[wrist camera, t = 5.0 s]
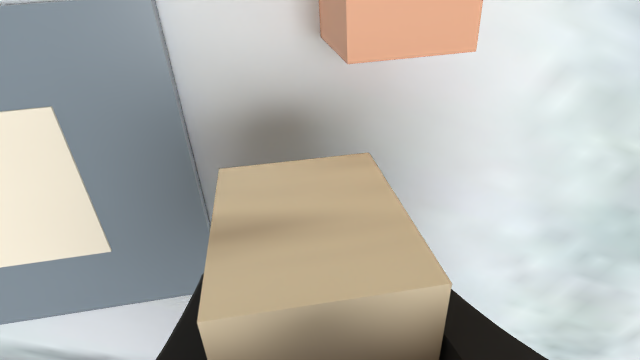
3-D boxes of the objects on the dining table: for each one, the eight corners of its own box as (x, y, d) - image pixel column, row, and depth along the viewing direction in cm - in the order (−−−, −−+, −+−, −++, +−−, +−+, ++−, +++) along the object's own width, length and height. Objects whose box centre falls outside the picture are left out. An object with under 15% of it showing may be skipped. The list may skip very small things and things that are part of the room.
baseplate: (223, 281, 21) (223, 290, 20) (-61, 325, 19) (-71, 337, 19) (153, -7, 14) (149, -5, 13) (-298, 27, 12) (-327, 30, 12)
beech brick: (365, 308, 14) (419, 470, 9) (249, 326, 13) (249, 506, 9) (368, 152, 11) (451, 283, 6) (219, 168, 10) (196, 322, 6)
